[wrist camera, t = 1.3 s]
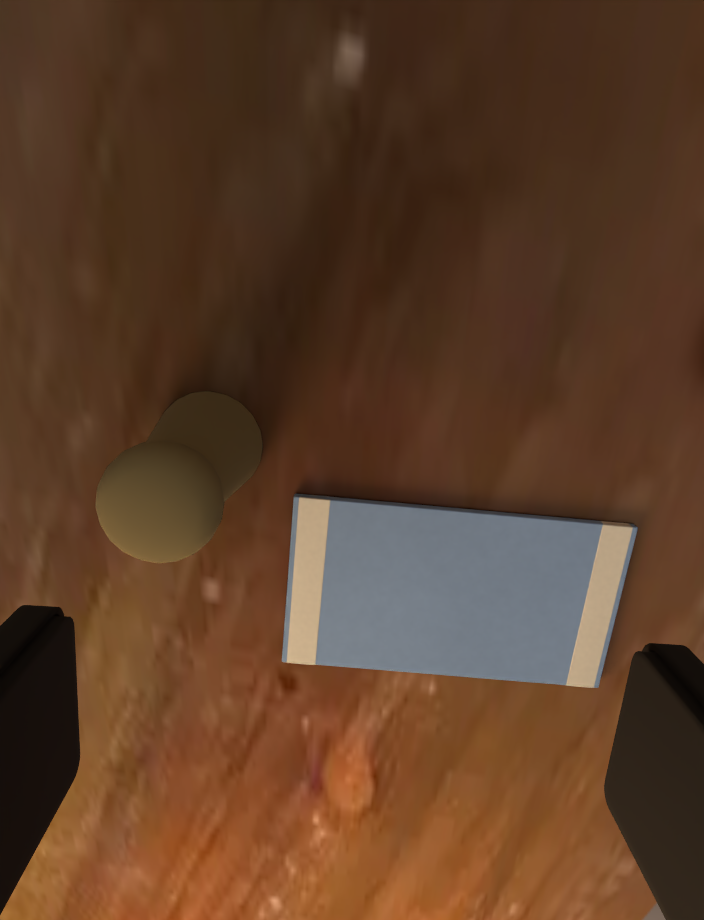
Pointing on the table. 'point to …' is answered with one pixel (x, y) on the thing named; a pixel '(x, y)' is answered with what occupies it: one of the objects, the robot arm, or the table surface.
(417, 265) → the table surface
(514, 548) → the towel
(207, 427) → the olive tall tapered piece
